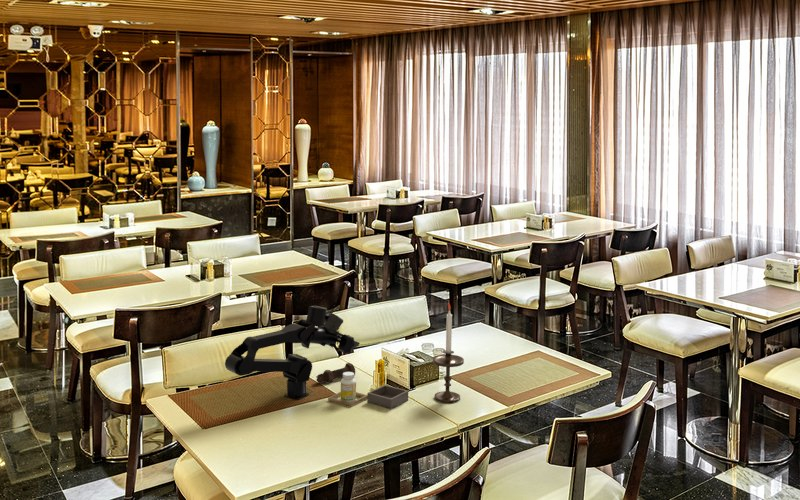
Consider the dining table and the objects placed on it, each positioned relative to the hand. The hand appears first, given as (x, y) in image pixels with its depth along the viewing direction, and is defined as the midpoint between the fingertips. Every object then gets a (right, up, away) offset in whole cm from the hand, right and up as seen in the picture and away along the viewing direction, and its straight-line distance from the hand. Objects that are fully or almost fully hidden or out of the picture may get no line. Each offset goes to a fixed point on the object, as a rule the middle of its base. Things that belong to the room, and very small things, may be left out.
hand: (351, 340), depth 298 cm
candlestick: (+35, -19, -14) cm, 42 cm away
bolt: (-6, -16, +3) cm, 17 cm away
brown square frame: (0, -19, -17) cm, 25 cm away
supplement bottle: (0, -19, -17) cm, 26 cm away
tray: (+14, -19, -18) cm, 30 cm away
